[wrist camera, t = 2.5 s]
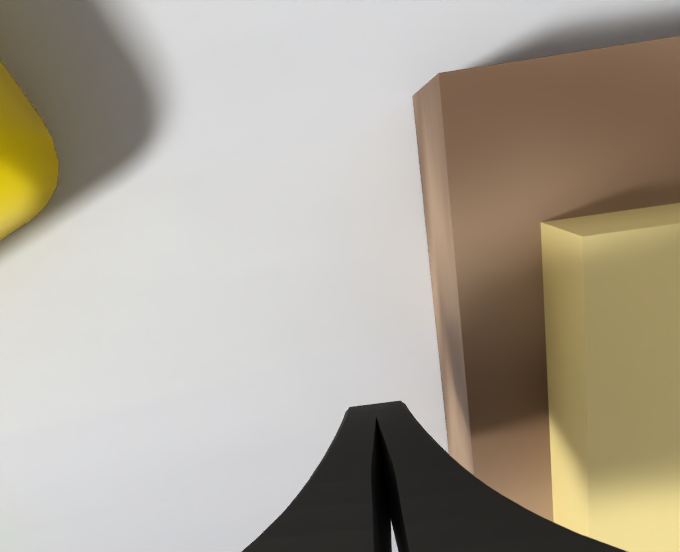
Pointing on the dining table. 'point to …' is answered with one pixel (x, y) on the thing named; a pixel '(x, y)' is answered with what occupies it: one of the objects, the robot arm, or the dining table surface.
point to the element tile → (23, 158)
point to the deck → (528, 225)
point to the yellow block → (615, 375)
